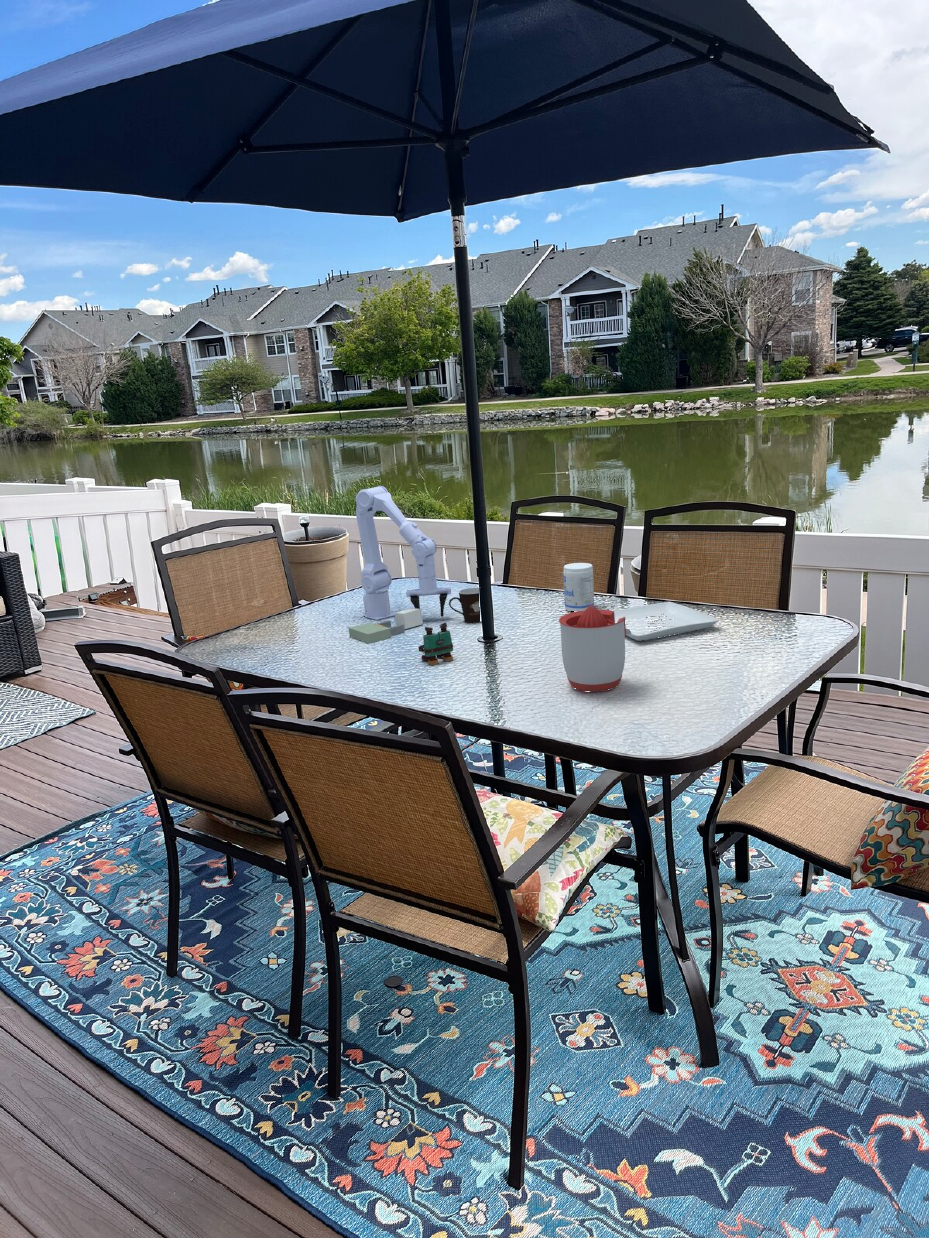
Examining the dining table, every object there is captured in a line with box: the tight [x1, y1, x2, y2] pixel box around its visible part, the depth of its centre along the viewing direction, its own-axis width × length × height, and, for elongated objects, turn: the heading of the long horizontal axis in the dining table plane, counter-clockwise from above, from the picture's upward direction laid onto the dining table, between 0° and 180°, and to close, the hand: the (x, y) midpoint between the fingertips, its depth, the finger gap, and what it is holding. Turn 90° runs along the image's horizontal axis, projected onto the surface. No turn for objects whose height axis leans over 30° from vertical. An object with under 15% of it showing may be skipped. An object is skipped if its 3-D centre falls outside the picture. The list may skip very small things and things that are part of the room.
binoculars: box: [418, 622, 454, 666], centre depth 232 cm, size 9×11×10 cm
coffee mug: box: [448, 587, 481, 624], centre depth 269 cm, size 12×9×10 cm
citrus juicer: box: [558, 605, 631, 692], centre depth 200 cm, size 16×17×20 cm
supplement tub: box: [562, 562, 595, 612], centre depth 271 cm, size 10×10×15 cm
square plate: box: [613, 601, 720, 642], centre depth 245 cm, size 27×27×4 cm
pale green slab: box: [348, 620, 405, 644], centre depth 263 cm, size 12×14×3 cm
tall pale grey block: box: [394, 607, 424, 630], centre depth 269 cm, size 5×7×5 cm
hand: (431, 616), depth 274 cm, fingers open, 7 cm apart
